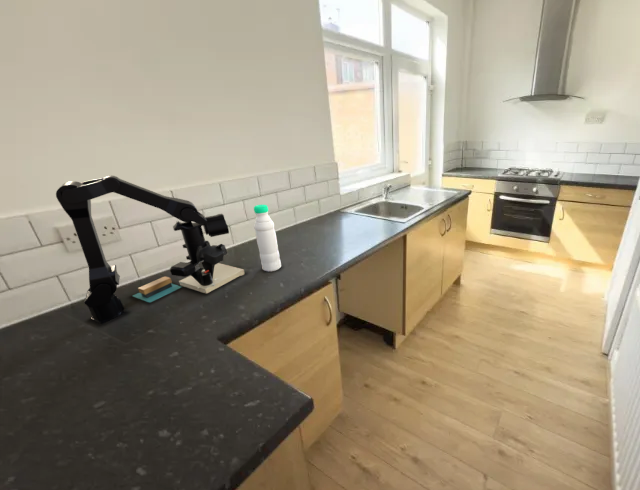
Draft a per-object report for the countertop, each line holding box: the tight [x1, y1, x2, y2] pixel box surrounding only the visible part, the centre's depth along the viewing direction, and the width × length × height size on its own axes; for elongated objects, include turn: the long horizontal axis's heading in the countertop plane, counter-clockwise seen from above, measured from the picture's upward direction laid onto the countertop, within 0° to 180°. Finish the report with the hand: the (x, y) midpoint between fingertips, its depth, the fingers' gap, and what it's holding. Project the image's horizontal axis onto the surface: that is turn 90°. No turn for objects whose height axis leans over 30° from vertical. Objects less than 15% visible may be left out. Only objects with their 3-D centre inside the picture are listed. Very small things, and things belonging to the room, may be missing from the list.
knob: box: [202, 270, 213, 286], centre depth 108 cm, size 4×4×4 cm
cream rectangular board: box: [178, 262, 246, 294], centre depth 115 cm, size 17×15×2 cm
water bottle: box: [253, 204, 282, 273], centre depth 118 cm, size 7×7×25 cm
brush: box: [137, 276, 173, 298], centre depth 108 cm, size 9×3×3 cm, turn 154°
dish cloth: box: [132, 282, 182, 304], centre depth 109 cm, size 11×10×1 cm
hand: (206, 282), depth 109 cm, fingers closed on knob, 4 cm apart
